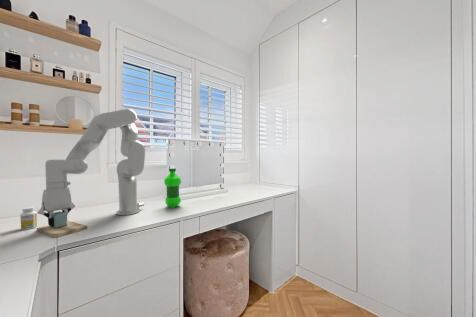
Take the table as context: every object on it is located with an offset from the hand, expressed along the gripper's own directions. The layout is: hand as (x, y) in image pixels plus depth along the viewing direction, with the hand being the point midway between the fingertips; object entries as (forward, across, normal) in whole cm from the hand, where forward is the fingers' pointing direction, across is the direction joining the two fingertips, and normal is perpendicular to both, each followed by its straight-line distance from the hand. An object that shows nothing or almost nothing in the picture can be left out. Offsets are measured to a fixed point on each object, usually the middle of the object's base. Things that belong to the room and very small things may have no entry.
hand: (58, 224), depth 99 cm
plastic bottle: (+2, -54, +19) cm, 57 cm away
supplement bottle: (+2, +6, -14) cm, 15 cm away
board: (+2, 0, +4) cm, 4 cm away
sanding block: (+1, 0, 0) cm, 1 cm away
